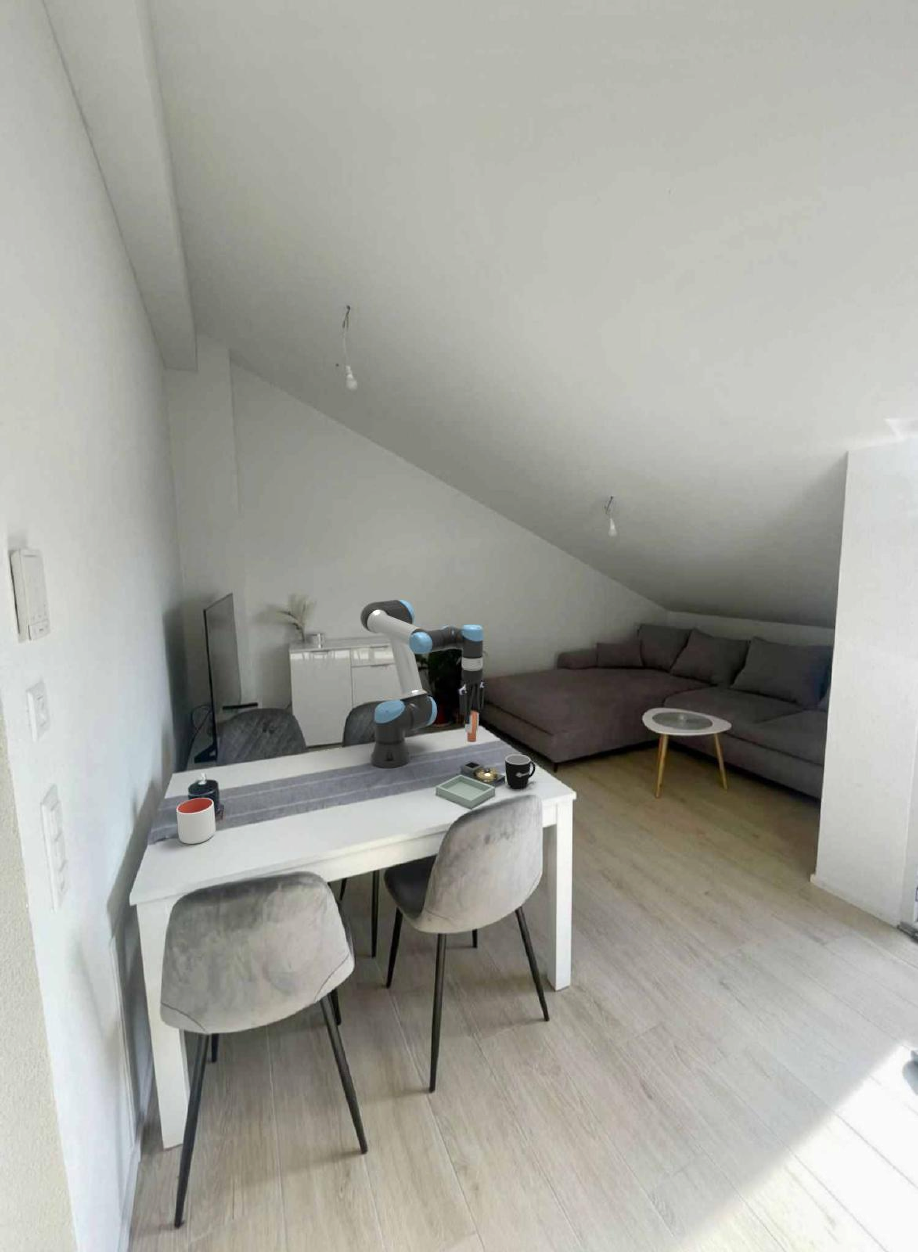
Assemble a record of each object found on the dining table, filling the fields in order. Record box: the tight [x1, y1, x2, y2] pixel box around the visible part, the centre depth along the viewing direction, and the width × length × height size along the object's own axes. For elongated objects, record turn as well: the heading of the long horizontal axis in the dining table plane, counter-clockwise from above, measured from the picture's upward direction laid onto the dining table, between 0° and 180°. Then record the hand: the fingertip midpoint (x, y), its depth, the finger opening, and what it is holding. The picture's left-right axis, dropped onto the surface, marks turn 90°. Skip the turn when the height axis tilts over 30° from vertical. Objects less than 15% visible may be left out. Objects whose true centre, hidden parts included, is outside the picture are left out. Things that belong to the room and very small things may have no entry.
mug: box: [504, 753, 536, 791], centre depth 200 cm, size 12×9×10 cm
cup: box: [175, 797, 217, 845], centre depth 166 cm, size 10×10×10 cm
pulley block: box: [455, 760, 506, 789], centre depth 203 cm, size 15×10×6 cm, turn 49°
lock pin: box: [466, 709, 477, 743], centre depth 203 cm, size 3×3×11 cm
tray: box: [435, 774, 496, 810], centre depth 193 cm, size 16×13×3 cm
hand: (471, 730), depth 204 cm, fingers closed on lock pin, 3 cm apart
